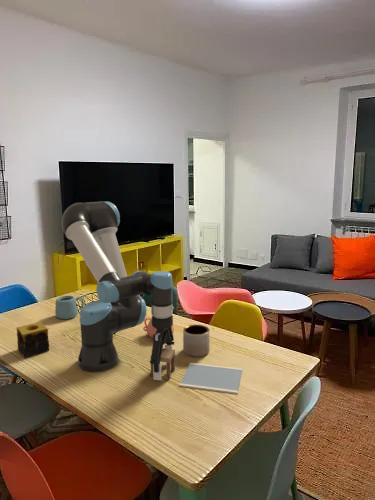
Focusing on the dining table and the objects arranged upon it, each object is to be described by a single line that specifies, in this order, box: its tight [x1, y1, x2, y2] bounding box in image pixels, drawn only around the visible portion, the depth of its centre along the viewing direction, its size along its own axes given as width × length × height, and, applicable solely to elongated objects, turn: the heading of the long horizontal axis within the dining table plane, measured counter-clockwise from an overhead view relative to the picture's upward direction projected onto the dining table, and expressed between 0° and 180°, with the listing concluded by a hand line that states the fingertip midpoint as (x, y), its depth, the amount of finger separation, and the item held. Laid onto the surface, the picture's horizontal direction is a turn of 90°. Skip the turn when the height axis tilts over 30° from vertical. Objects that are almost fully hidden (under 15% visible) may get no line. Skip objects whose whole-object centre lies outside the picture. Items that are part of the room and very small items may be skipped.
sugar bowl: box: [142, 316, 175, 339], centre depth 170 cm, size 12×14×10 cm
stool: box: [150, 347, 176, 380], centre depth 137 cm, size 7×7×8 cm
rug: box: [178, 362, 243, 395], centre depth 135 cm, size 20×16×1 cm
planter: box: [182, 324, 211, 358], centre depth 154 cm, size 11×11×10 cm
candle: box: [16, 321, 50, 359], centre depth 156 cm, size 10×10×10 cm
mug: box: [54, 295, 85, 320], centre depth 194 cm, size 15×11×10 cm
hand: (163, 370), depth 138 cm, fingers open, 13 cm apart
